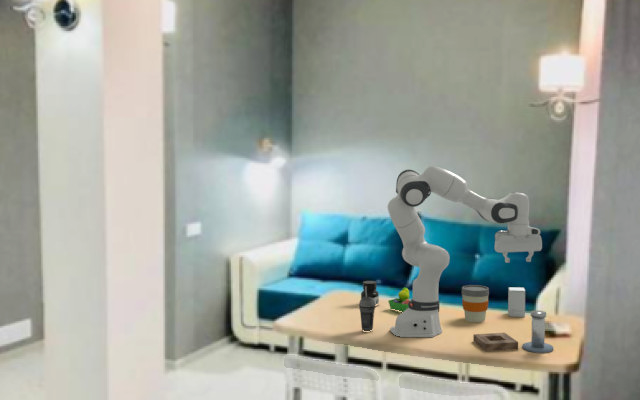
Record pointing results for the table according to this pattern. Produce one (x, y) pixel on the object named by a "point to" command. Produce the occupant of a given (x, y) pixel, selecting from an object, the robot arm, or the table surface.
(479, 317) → the reusable coffee cup
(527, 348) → the slate rubber mat
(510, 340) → the walnut socket block
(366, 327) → the beverage cup
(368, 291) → the ink bottle
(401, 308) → the fruit basket
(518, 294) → the supplement box
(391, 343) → the table surface
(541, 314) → the steel plug
